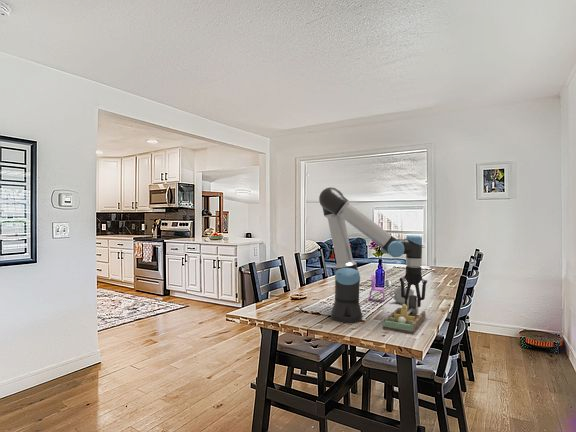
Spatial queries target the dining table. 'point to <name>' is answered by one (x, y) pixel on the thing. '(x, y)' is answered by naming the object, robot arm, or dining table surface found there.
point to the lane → (417, 322)
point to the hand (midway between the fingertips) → (412, 312)
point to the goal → (398, 324)
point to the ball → (401, 320)
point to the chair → (376, 288)
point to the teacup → (398, 295)
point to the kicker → (404, 310)
